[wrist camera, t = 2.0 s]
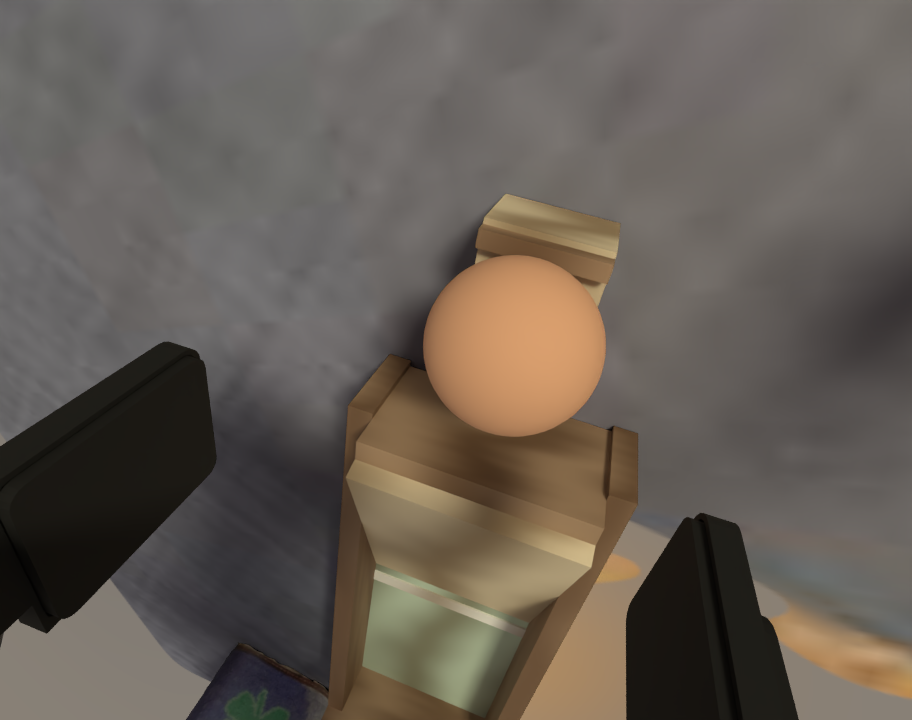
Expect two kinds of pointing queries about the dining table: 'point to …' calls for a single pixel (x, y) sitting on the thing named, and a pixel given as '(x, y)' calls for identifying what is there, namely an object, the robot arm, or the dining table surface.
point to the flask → (259, 691)
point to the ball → (514, 345)
